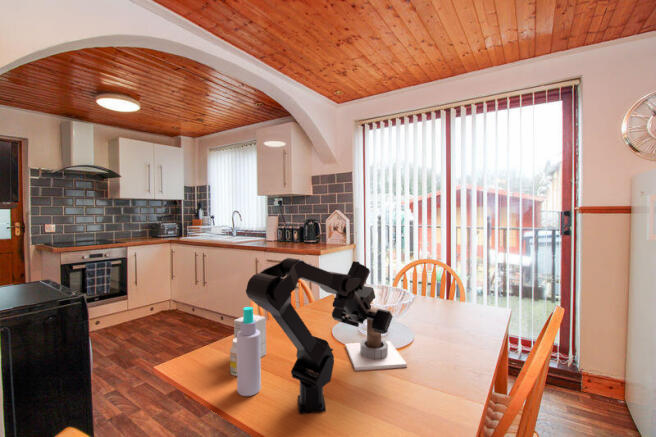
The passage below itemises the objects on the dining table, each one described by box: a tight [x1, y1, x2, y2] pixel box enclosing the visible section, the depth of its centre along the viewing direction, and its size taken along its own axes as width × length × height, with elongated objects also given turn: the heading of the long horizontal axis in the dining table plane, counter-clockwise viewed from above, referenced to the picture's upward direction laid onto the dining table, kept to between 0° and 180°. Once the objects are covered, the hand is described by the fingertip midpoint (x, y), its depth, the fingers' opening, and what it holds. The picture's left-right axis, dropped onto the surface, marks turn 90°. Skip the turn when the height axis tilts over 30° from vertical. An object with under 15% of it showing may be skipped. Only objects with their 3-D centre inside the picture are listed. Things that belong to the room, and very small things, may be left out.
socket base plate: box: [345, 338, 408, 371], centre depth 100 cm, size 16×16×4 cm
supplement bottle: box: [229, 338, 237, 377], centre depth 90 cm, size 5×5×10 cm
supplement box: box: [233, 313, 267, 358], centre depth 99 cm, size 7×7×13 cm
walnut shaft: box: [366, 307, 382, 348], centre depth 100 cm, size 5×5×14 cm
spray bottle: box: [236, 306, 262, 397], centre depth 81 cm, size 6×6×22 cm
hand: (370, 328), depth 97 cm, fingers open, 9 cm apart
